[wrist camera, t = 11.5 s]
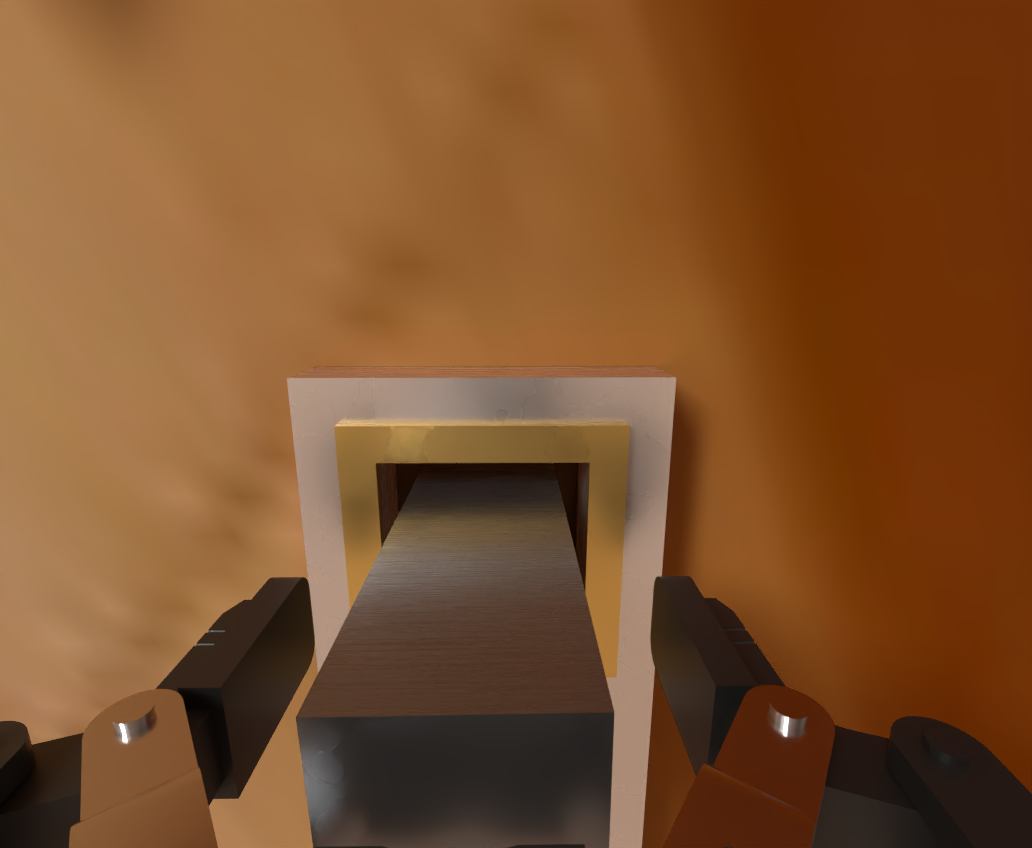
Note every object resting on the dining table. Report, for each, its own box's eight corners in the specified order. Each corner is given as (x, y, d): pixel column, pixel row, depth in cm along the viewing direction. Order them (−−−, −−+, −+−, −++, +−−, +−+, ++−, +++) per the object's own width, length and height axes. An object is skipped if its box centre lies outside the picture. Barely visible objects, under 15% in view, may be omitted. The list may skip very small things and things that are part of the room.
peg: (553, 462, 16) (614, 712, 7) (552, 579, 17) (605, 944, 8) (423, 464, 16) (295, 718, 7) (430, 581, 17) (327, 949, 8)
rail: (656, 366, 16) (680, 379, 13) (615, 993, 22) (627, 1072, 20) (314, 366, 16) (282, 380, 13) (373, 996, 22) (357, 1076, 20)
